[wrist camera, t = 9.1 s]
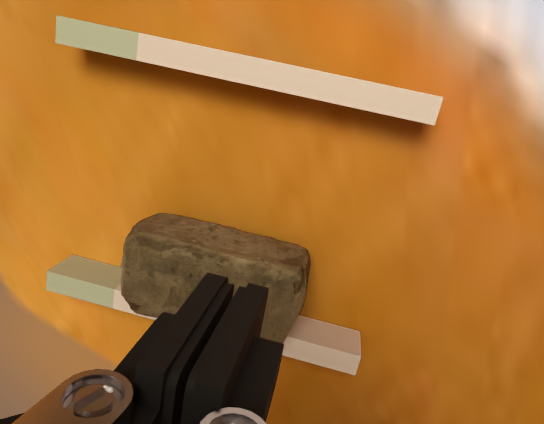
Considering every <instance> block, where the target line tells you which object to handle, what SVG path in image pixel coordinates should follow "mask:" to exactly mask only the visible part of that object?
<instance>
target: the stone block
mask: <svg viewBox="0 0 544 424" xmlns="http://www.w3.org/2000/svg"><path fill="white" fill-rule="evenodd" d="M121 268H122V276H121V295H122V296H123V297H124V299H125V301H126V302H127V303H128V304H129V306H130V309H131V310H133V311H134V312H135V313H136V314H140V315H144V316H149V317H155V318H158V317H159V315H160V314H161V313H163V312H168V313H172V314H176V313H177V311H178V310H179V309H180V307H181V306H182V305H183V304H184V302H185V301H186V300H187V298H188V297H189V296H190V294H191V293H192V292H193V290H194V289H195V288H196V287H197V285H198V284H199V283H200V281H201V280H202V279H203V277H204V276H205V275H206V274H207V273H213V274H216V275H220V276H224V277H228V283H230V284H234V293H233V296H234V295H235V293H236V291H237V289H238V288H239V286H242V287H246V286H247V285H248V283H252V284H256V285H260V286H264V287H268V288H269V292H268V298H267V303H266V308H265V313H264V318H263V323H262V329H261V334H260V337H261V338H265V339H268V340H272V341H276V342H279V343H283V342H284V341H285V339H286V338H287V335H288V333H289V331H290V329H291V327H292V324H293V322H294V321H295V319H296V318H297V317H298V315H299V314H300V312H301V310H302V307H303V304H304V301H305V296H306V291H307V283H308V275H309V268H310V257H309V253H308V251H307V250H306V249H305V248H303V247H300V246H298V245H296V244H293V243H289V242H284V241H279V240H277V239H274V238H271V237H267V236H262V235H257V234H252V233H248V232H244V231H240V230H238V229H235V228H232V227H227V226H222V225H218V224H215V223H212V222H205V221H200V220H197V219H193V218H189V217H184V216H179V215H174V214H167V213H158V214H155V215H153V216H150V217H148V218H145V219H143V220H141V221H139V222H138V223H137V224H136V225H134V226H133V227H132V230H131V232H130V233H129V234H128V236H127V237H126V239H125V243H124V248H123V259H122V263H121Z"/></svg>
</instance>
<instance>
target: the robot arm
mask: <svg viewBox="0 0 544 424" xmlns="http://www.w3.org/2000/svg"><path fill="white" fill-rule="evenodd" d="M268 292H269V288H268V287H264V286H260V285H256V284H252V283H248V285H247V286H246V287H242V286H239V288H238V289H237V291H236V293H235V295H234V296H233V293H234V284H230V283H228V277H224V276H220V275H216V274H213V273H207V274H206V275H205V276H204V277H203V279H202V280H201V281H200V283H199V284H198V285H197V287H196V288H195V289H194V290H193V292H192V293H191V294H190V296H189V297H188V298H187V300H186V301H185V302H184V304H183V305H182V306H181V307H180V309H179V310H178V311H177V313H176V314H172V313H168V312H163V313H161V314H160V315H159V317H158V318H157V319H156V320H155V321H154V323H153V324H152V325H151V326H150V327H149V329H148V330H147V331H146V332H145V333H144V335H143V336H142V337H141V338H140V340H139V341H138V342H137V343H136V344H135V346H134V347H133V348H132V349H131V350H130V352H129V353H128V354H127V355H126V356H125V358H124V359H123V360H122V361H121V363H120V364H119V365H118V366H117V367H116V369H115V370H114V371H111V370H103V369H95V370H88V371H84V372H81V373H78V374H75V375H73V376H71V377H70V378H68V379H67V380H65V381H64V382H63V383H61V384H60V385H59V386H58V387H56V388H55V389H54V390H52V391H51V392H50V393H49V394H48V395H46V396H45V397H44V398H43V399H41V400H40V401H39V402H38V403H36V404H35V405H34V406H33V407H31V408H30V409H29V410H28V411H26V412H25V413H22V414H19V415H15V416H11V417H8V418H4V419H0V424H266V423H265V422H266V419H267V415H268V411H269V408H270V404H271V400H272V396H273V392H274V388H275V384H276V380H277V376H278V371H279V367H280V362H281V358H282V353H283V348H284V344H283V343H279V342H276V341H272V340H268V339H265V338H261V337H260V334H261V329H262V323H263V318H264V313H265V308H266V303H267V298H268Z"/></svg>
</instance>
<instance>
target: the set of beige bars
mask: <svg viewBox="0 0 544 424" xmlns="http://www.w3.org/2000/svg"><path fill="white" fill-rule="evenodd" d="M56 43H58V44H63V45H68V46H72V47H77V48H81V49H86V50H91V51H95V52H100V53H104V54H109V55H113V56H118V57H123V58H127V59H132V60H136V61H141V62H146V63H150V64H155V65H159V66H164V67H168V68H173V69H178V70H182V71H187V72H191V73H196V74H201V75H205V76H210V77H214V78H219V79H224V80H228V81H233V82H237V83H242V84H246V85H251V86H256V87H260V88H265V89H269V90H274V91H279V92H283V93H288V94H292V95H297V96H301V97H306V98H311V99H315V100H320V101H324V102H329V103H334V104H338V105H343V106H347V107H352V108H356V109H361V110H366V111H370V112H375V113H379V114H384V115H389V116H393V117H398V118H402V119H407V120H412V121H416V122H421V123H425V124H430V125H434V126H435V123H436V119H437V116H438V113H439V110H440V107H441V104H442V100H443V97H441V96H436V95H431V94H426V93H422V92H417V91H412V90H407V89H403V88H398V87H393V86H389V85H384V84H379V83H374V82H370V81H365V80H360V79H355V78H351V77H346V76H341V75H337V74H332V73H327V72H322V71H318V70H313V69H308V68H303V67H299V66H294V65H289V64H285V63H280V62H275V61H270V60H266V59H261V58H256V57H251V56H247V55H242V54H237V53H233V52H228V51H223V50H218V49H214V48H209V47H204V46H199V45H195V44H190V43H185V42H181V41H176V40H171V39H166V38H162V37H157V36H152V35H147V34H143V33H138V32H133V31H129V30H124V29H119V28H114V27H110V26H105V25H100V24H95V23H91V22H86V21H81V20H77V19H72V18H67V17H62V16H58V15H57V18H56ZM121 276H122V268H121V267H118V266H114V265H110V264H106V263H103V262H99V261H95V260H91V259H88V258H84V257H80V256H76V255H71V256H70V257H68V258H66V259H65V260H63V261H62V262H60V263H59V264H57V265H56V266H54V267H52V268H51V269H49V270H48V271H47V283H46V290H48V291H52V292H55V293H59V294H63V295H66V296H70V297H73V298H77V299H81V300H84V301H88V302H91V303H95V304H99V305H102V306H106V307H110V308H113V309H117V310H120V311H124V312H128V313H131V314H135V315H138V316H142V317H146V318H149V319H153V320H156V319H157V318H155V317H149V316H144V315H140V314H136V313H135V312H134V311H133V310H131V309H130V306H129V304H128V303H127V302H126V301H125V299H124V297H123V296H122V295H121ZM283 344H284V348H283V353H282V355H283V356H286V357H290V358H294V359H297V360H301V361H305V362H308V363H312V364H315V365H319V366H323V367H326V368H330V369H333V370H337V371H341V372H344V373H348V374H351V375H356V372H357V369H358V366H359V362H360V359H361V339H360V331H357V330H354V329H350V328H346V327H342V326H339V325H335V324H331V323H327V322H324V321H320V320H316V319H312V318H309V317H305V316H301V315H298V317H297V318H296V319H295V321H294V322H293V324H292V327H291V329H290V331H289V333H288V335H287V338H286V339H285V341H284V342H283Z"/></svg>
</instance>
